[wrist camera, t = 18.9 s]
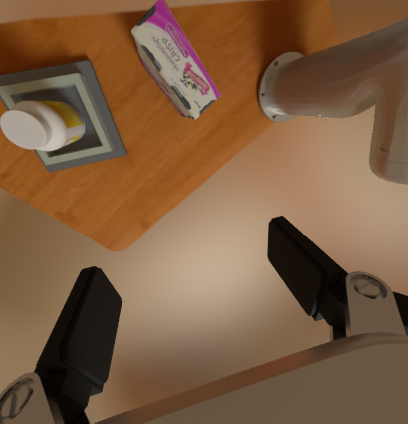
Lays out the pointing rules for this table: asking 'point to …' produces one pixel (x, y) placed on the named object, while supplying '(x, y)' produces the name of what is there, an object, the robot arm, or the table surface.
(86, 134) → the tray
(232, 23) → the table surface
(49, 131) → the supplement bottle
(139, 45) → the candy bar box
